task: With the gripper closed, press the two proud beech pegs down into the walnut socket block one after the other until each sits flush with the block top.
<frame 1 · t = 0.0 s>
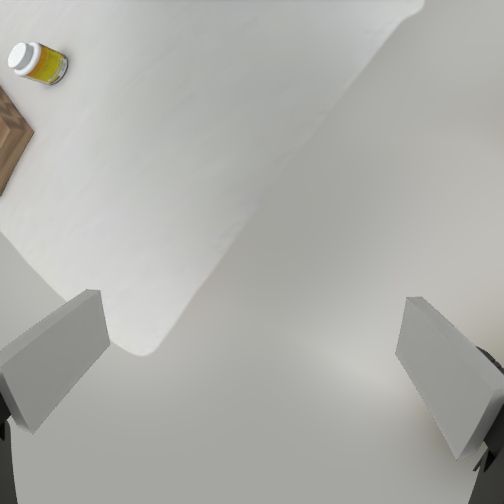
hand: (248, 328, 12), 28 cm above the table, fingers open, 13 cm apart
supplement bottle: (56, 70, 35), on the table
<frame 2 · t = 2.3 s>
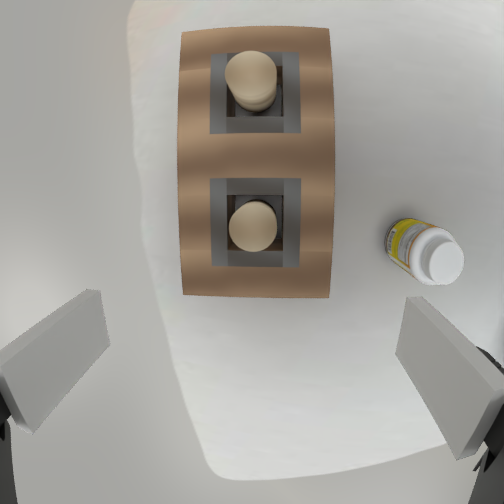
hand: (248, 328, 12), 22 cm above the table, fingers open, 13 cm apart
supplement bottle: (404, 240, 33), on the table
short peg: (255, 223, 27), point 6 cm above the table, slide at 3.0 cm
tall peg: (253, 84, 23), point 8 cm above the table, slide at 5.0 cm
socket block: (258, 159, 32), on the table
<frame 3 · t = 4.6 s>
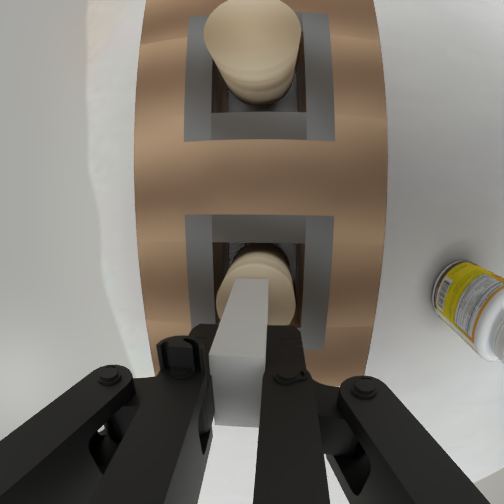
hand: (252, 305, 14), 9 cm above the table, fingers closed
supplement bottle: (454, 288, 23), on the table
short peg: (258, 284, 18), point 6 cm above the table, slide at 2.7 cm, touching gripper
tall peg: (256, 56, 12), point 8 cm above the table, slide at 5.0 cm
socket block: (262, 177, 22), on the table
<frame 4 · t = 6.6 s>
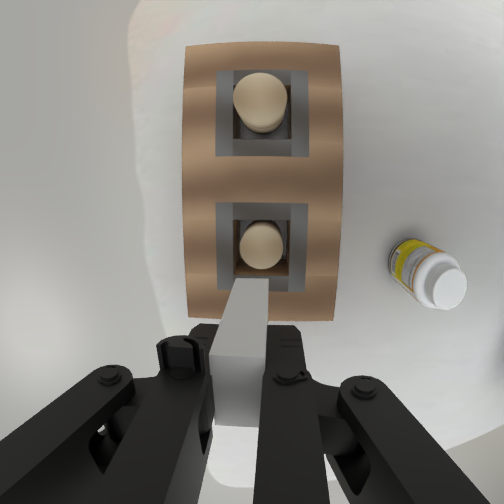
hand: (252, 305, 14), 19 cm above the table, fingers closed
supplement bottle: (407, 259, 33), on the table
short peg: (262, 241, 30), point 3 cm above the table, slide at 0.1 cm
tall peg: (261, 106, 23), point 8 cm above the table, slide at 5.0 cm
socket block: (263, 179, 32), on the table
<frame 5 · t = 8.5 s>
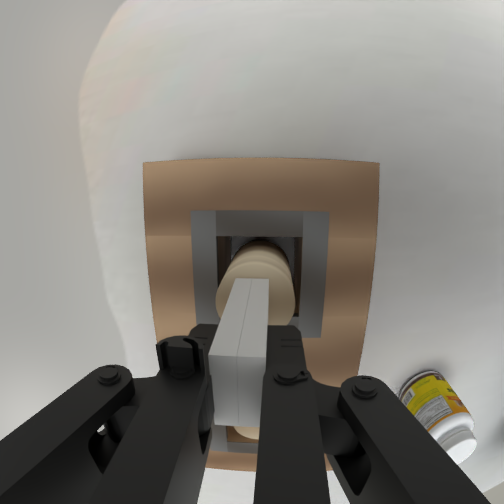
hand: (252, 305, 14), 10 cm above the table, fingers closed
supplement bottle: (420, 388, 27), on the table
short peg: (259, 400, 24), point 3 cm above the table, slide at 0.1 cm
tall peg: (258, 283, 18), point 7 cm above the table, slide at 4.0 cm, touching gripper
socket block: (261, 323, 26), on the table
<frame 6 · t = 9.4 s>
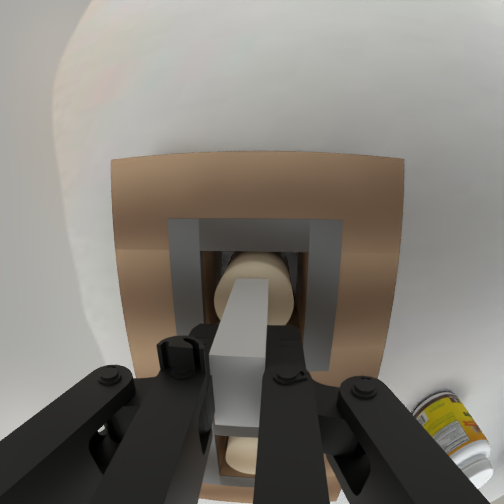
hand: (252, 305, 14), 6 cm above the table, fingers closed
supplement bottle: (432, 409, 23), on the table
short peg: (255, 431, 20), point 3 cm above the table, slide at 0.1 cm
tall peg: (256, 282, 18), point 3 cm above the table, slide at 0.1 cm, touching gripper
socket block: (258, 345, 22), on the table
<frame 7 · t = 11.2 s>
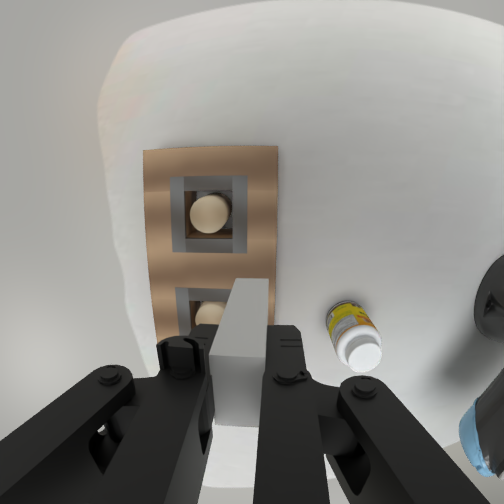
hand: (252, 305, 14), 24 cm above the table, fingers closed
supplement bottle: (344, 317, 41), on the table
short peg: (215, 310, 37), point 3 cm above the table, slide at 0.1 cm
tall peg: (212, 211, 34), point 3 cm above the table, slide at 0.1 cm
socket block: (217, 256, 39), on the table
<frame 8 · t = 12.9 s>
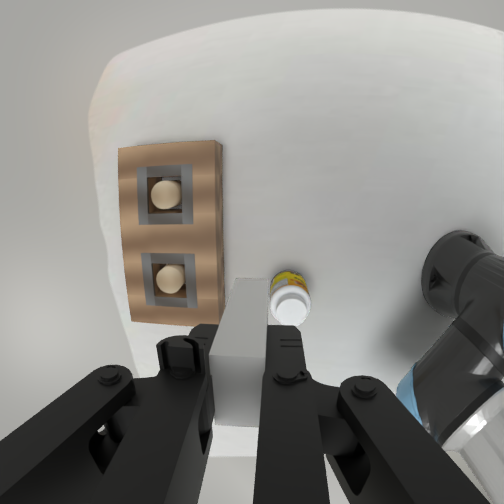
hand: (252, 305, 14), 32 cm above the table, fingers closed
supplement bottle: (287, 285, 48), on the table
short peg: (174, 274, 46), point 3 cm above the table, slide at 0.1 cm
tall peg: (170, 193, 43), point 3 cm above the table, slide at 0.1 cm
socket block: (178, 231, 47), on the table
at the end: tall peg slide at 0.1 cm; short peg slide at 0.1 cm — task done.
